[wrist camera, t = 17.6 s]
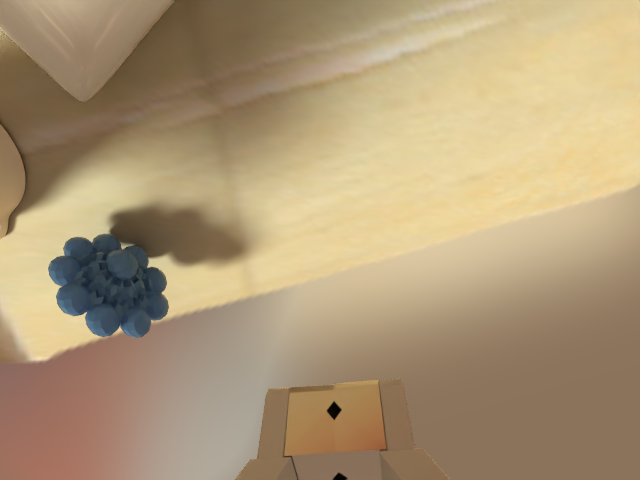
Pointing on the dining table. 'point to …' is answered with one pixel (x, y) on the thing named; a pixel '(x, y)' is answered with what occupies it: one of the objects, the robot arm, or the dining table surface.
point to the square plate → (79, 36)
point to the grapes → (109, 285)
